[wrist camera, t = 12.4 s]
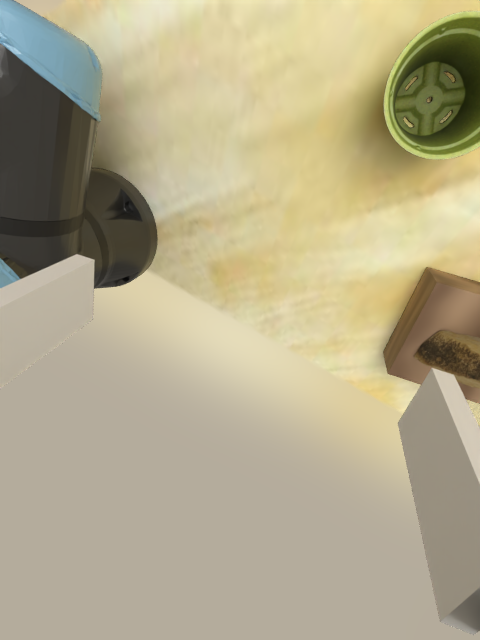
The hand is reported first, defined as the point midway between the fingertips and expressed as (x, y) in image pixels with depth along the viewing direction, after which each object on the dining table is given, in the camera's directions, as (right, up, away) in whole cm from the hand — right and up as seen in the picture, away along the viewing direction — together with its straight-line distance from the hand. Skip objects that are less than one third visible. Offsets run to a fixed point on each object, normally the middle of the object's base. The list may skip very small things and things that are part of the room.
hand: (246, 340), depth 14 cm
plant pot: (+18, +22, +21) cm, 35 cm away
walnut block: (+26, 0, +29) cm, 39 cm away
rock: (+25, -3, +25) cm, 36 cm away
